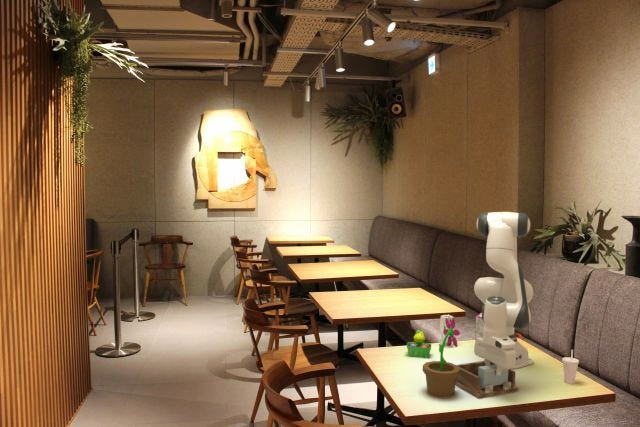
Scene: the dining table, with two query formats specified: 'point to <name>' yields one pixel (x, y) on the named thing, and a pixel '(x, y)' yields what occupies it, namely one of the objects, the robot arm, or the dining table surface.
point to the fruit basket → (419, 346)
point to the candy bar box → (479, 325)
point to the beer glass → (443, 326)
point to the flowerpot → (443, 368)
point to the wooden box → (471, 381)
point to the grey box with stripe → (492, 375)
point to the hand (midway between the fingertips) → (493, 372)
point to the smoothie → (570, 368)
